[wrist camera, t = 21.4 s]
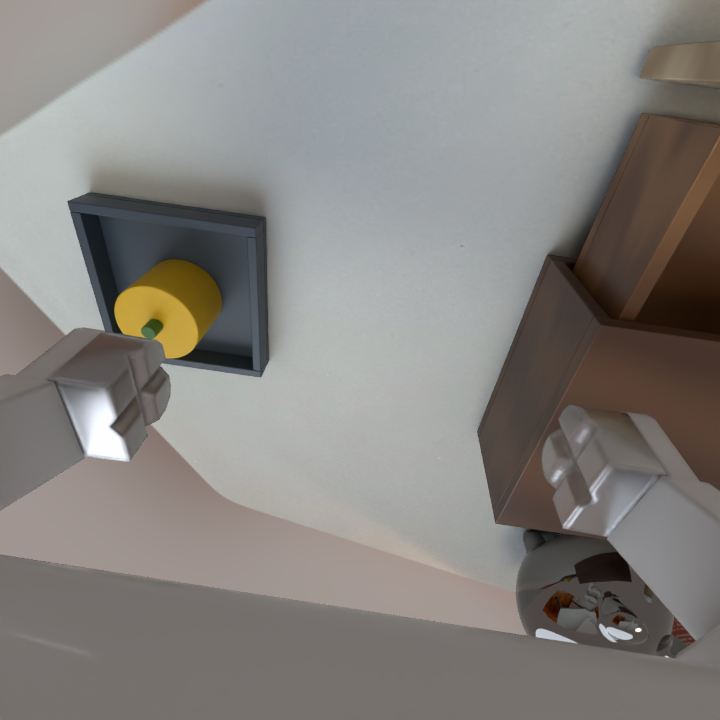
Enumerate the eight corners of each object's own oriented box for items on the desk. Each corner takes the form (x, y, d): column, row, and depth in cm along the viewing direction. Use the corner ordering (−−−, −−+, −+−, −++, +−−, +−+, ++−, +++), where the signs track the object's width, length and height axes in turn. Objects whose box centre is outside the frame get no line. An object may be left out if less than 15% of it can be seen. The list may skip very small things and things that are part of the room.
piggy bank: (673, 528, 40) (756, 670, 30) (542, 581, 47) (576, 708, 38) (603, 474, 36) (673, 615, 27) (474, 541, 44) (493, 669, 34)
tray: (88, 192, 26) (66, 200, 24) (265, 217, 26) (255, 227, 24) (127, 340, 32) (112, 356, 31) (268, 361, 32) (261, 377, 31)
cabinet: (546, 254, 25) (600, 324, 18) (798, 290, 25) (948, 374, 18) (476, 431, 35) (495, 523, 28) (661, 458, 34) (727, 557, 27)
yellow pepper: (141, 253, 27) (93, 287, 23) (219, 264, 27) (185, 300, 23) (155, 320, 30) (115, 361, 26) (225, 330, 30) (196, 373, 26)
